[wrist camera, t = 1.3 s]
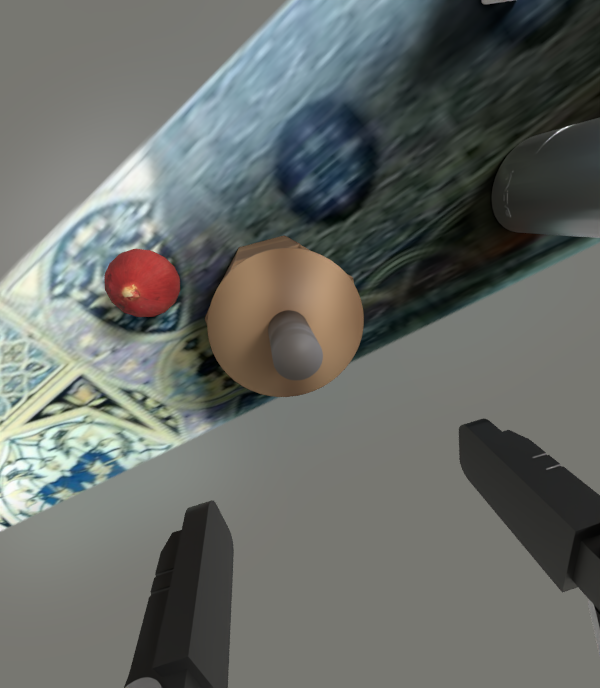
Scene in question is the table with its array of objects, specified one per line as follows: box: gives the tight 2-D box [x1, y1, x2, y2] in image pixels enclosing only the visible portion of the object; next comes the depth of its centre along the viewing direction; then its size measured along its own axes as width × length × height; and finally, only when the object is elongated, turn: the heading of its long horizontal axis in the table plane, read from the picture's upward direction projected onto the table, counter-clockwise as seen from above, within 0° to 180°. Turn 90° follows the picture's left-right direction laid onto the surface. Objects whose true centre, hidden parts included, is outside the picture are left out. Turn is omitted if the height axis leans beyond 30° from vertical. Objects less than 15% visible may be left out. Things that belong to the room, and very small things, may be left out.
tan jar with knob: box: [205, 236, 364, 397], centre depth 25 cm, size 12×12×16 cm
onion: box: [105, 249, 180, 317], centre depth 27 cm, size 6×6×8 cm
